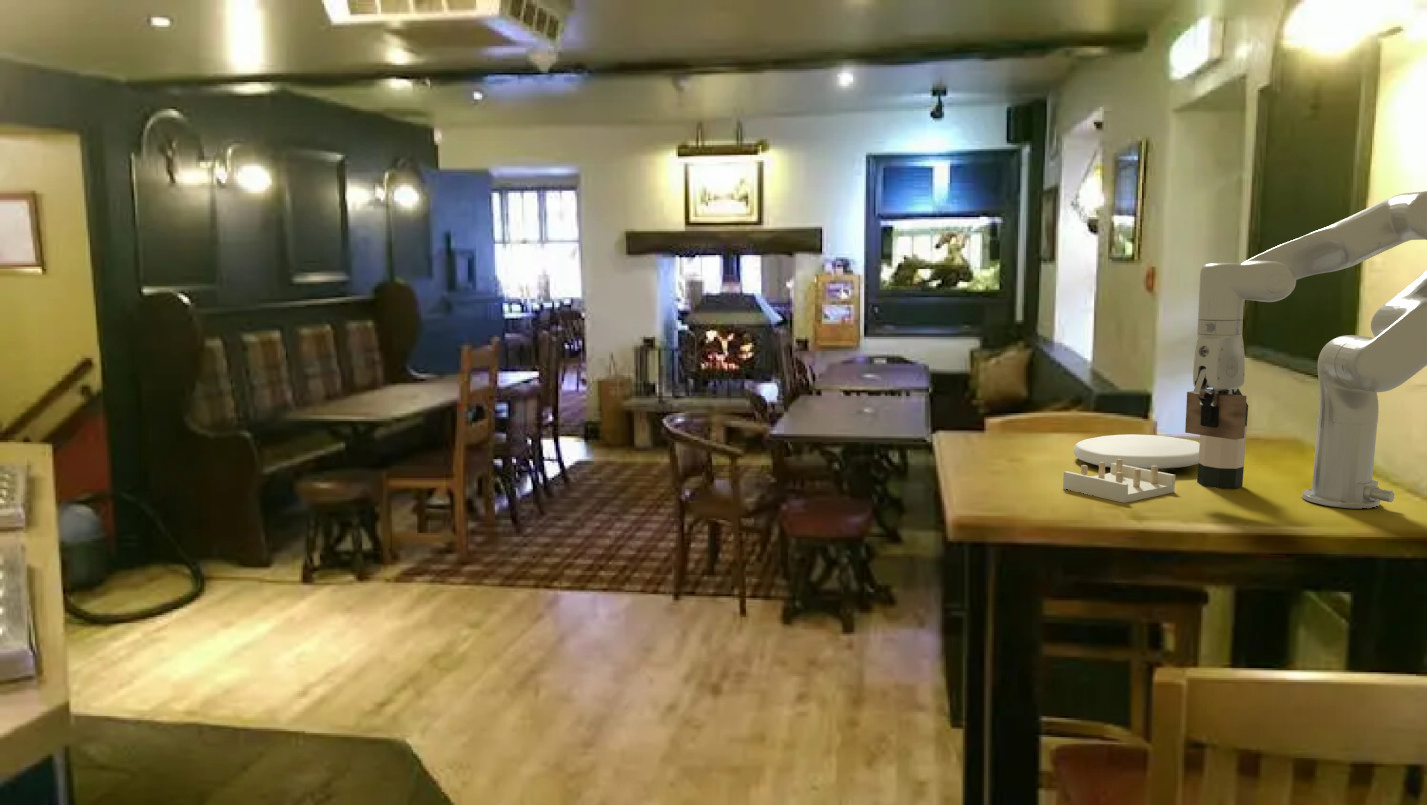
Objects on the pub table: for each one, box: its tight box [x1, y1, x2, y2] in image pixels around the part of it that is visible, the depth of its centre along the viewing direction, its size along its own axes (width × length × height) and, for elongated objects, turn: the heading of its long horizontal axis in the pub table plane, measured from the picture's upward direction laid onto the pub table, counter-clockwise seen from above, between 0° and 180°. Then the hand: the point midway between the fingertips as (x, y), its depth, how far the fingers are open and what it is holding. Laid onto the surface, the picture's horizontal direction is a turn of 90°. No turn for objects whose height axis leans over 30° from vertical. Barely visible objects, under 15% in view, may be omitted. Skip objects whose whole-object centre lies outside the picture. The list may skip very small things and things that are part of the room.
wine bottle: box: [1196, 388, 1249, 490], centre depth 205 cm, size 8×8×30 cm
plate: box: [1073, 434, 1200, 470], centre depth 227 cm, size 28×6×27 cm
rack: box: [1062, 459, 1176, 504], centre depth 201 cm, size 14×16×5 cm
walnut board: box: [1184, 390, 1247, 440], centre depth 192 cm, size 10×3×8 cm, turn 33°
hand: (1214, 424), depth 192 cm, fingers closed on walnut board, 3 cm apart
